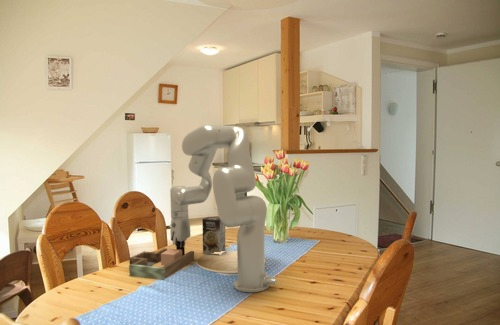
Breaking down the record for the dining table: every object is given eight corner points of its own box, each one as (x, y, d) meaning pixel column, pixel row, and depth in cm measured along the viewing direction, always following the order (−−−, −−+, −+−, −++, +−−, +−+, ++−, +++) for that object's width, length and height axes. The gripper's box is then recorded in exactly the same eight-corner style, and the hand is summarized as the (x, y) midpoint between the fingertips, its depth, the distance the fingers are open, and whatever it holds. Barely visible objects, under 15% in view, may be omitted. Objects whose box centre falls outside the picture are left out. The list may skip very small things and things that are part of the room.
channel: (194, 260, 160) (194, 251, 160) (163, 279, 137) (162, 268, 137) (153, 256, 167) (152, 247, 167) (116, 274, 144) (116, 263, 144)
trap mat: (155, 263, 157) (155, 262, 157) (147, 267, 151) (147, 267, 151) (145, 262, 158) (145, 261, 158) (136, 266, 153) (136, 265, 153)
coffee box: (202, 253, 170) (201, 218, 169) (209, 250, 176) (208, 216, 175) (220, 255, 166) (219, 220, 166) (226, 251, 172) (225, 217, 172)
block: (182, 261, 160) (182, 249, 159) (174, 266, 152) (173, 254, 152) (169, 260, 161) (169, 248, 161) (161, 265, 154) (160, 253, 154)
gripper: (178, 217, 155) (179, 260, 155) (195, 211, 169) (196, 251, 169) (162, 216, 157) (163, 259, 158) (180, 211, 171) (181, 250, 172)
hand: (180, 255), depth 164 cm, fingers closed
